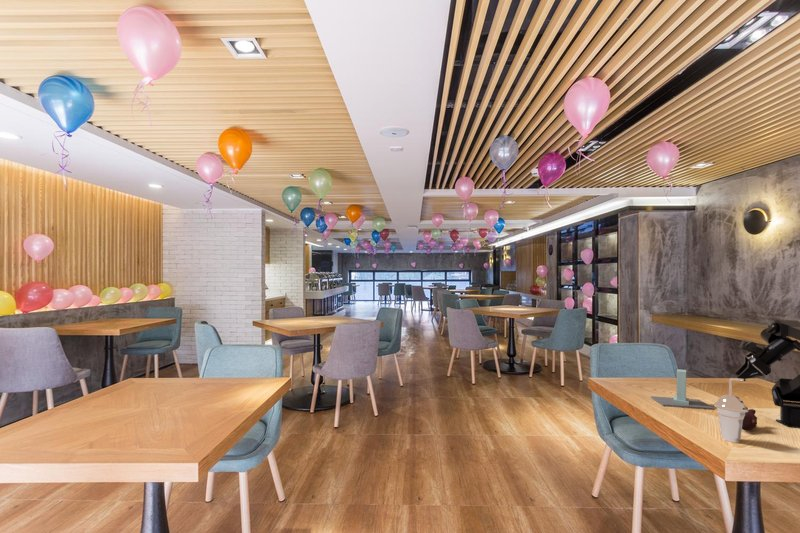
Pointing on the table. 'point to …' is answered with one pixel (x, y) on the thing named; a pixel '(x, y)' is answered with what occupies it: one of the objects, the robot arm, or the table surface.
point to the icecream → (749, 420)
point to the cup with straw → (731, 414)
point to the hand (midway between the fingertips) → (737, 376)
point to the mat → (692, 404)
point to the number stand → (681, 388)
